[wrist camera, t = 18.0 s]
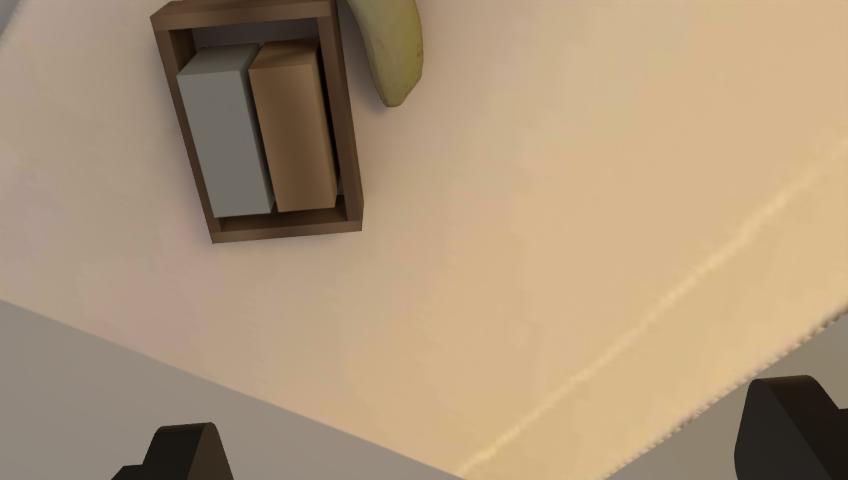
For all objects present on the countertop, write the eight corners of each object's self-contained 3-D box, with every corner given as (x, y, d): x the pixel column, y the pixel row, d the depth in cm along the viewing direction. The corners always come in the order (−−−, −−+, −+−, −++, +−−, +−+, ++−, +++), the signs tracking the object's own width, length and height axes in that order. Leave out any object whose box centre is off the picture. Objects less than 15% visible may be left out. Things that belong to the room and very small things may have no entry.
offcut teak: (321, 36, 43) (310, 64, 38) (341, 166, 47) (334, 207, 42) (265, 41, 43) (248, 69, 38) (291, 171, 47) (278, 212, 42)
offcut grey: (258, 42, 43) (238, 70, 38) (284, 171, 47) (270, 212, 42) (202, 47, 43) (176, 75, 38) (234, 175, 48) (214, 217, 42)
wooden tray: (334, -13, 41) (328, 0, 38) (364, 203, 49) (361, 230, 45) (170, 1, 41) (149, 16, 38) (225, 214, 49) (212, 243, 45)
